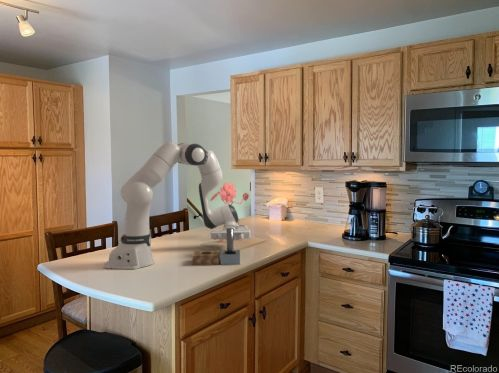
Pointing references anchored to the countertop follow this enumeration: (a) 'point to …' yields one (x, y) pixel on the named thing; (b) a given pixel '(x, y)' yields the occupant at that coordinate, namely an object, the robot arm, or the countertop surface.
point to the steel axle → (230, 241)
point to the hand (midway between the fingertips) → (230, 237)
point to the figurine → (229, 195)
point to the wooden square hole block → (205, 258)
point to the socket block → (230, 257)
